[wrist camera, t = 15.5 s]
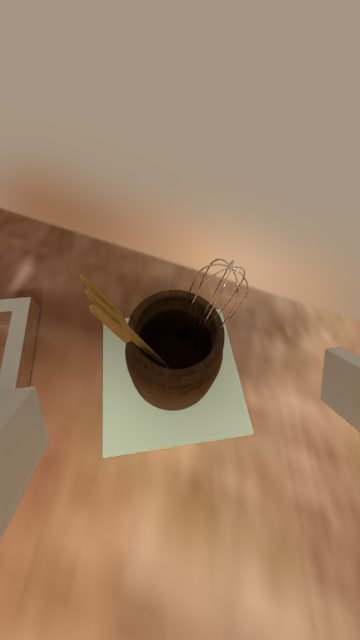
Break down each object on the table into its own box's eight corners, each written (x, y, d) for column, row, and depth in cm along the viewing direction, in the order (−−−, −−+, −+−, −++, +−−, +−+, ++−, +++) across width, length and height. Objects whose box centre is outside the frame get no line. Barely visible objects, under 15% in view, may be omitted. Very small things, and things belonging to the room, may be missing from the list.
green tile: (106, 457, 17) (102, 457, 16) (105, 326, 22) (103, 320, 21) (249, 435, 18) (253, 433, 17) (219, 314, 23) (221, 308, 22)
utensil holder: (226, 391, 18) (308, 301, 8) (144, 430, 17) (112, 380, 6) (191, 325, 21) (218, 190, 10) (117, 353, 19) (62, 227, 9)
